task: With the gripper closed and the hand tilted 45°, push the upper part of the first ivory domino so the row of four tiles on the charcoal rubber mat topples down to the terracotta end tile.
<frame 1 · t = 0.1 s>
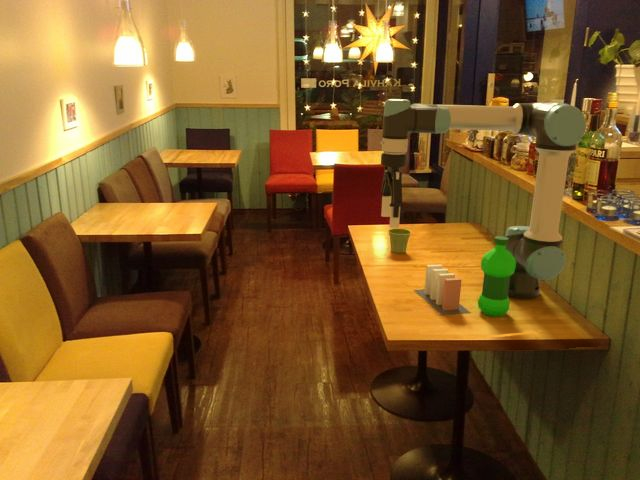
hand: (389, 221, 186), 28 cm above the table, tool pointing down, fingers open, 13 cm apart
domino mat: (440, 302, 199), on the table
plastic bottle: (492, 314, 190), on the table
domino 3: (443, 303, 196), point 1 cm above the table, touching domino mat
domino 1: (432, 293, 205), point 1 cm above the table, touching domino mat
plant pot: (398, 252, 252), on the table
domino 4: (450, 308, 192), point 1 cm above the table, touching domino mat
domino 2: (437, 298, 200), point 1 cm above the table, touching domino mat
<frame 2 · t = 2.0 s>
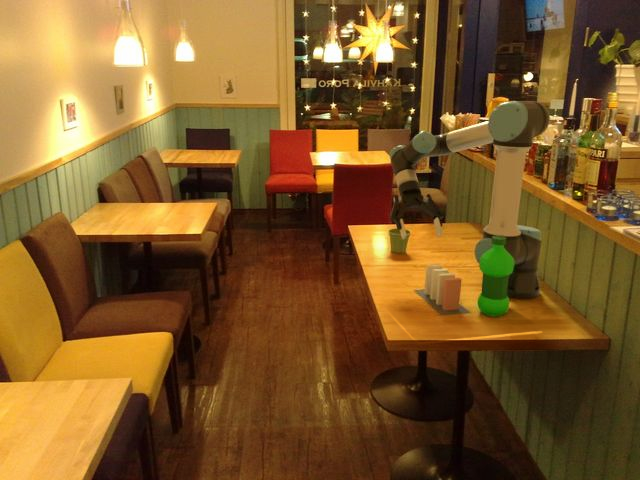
hand: (422, 236, 209), 18 cm above the table, tool tilted 45°, fingers open, 13 cm apart
plastic bottle: (492, 314, 190), on the table, touching arm
everything else where it was.
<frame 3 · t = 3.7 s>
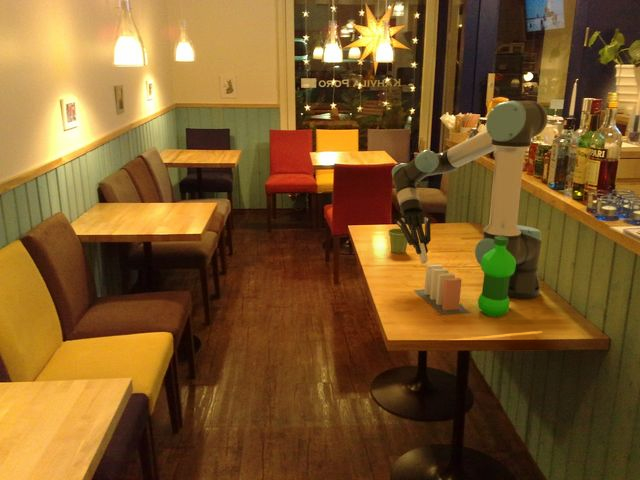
hand: (424, 261, 208), 10 cm above the table, tool tilted 45°, fingers closed
nothing on the table moved.
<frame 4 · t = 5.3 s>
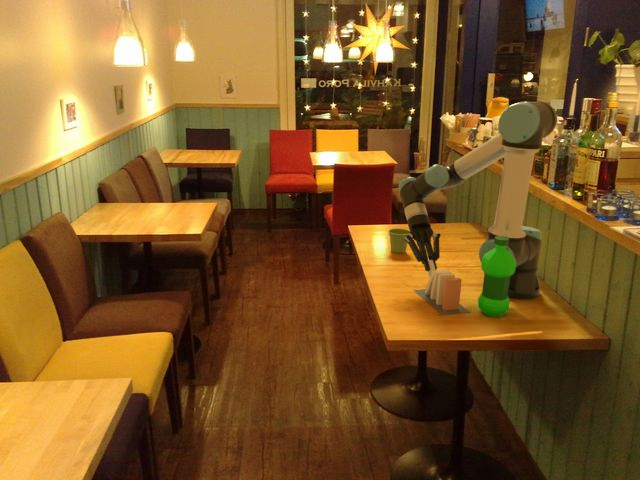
hand: (434, 279, 202), 6 cm above the table, tool tilted 45°, fingers closed
domino 1: (432, 292, 204), point 1 cm above the table, tilted 27°, touching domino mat
domino 2: (437, 298, 200), point 1 cm above the table, tilted 11°, touching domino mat
everything else where it was.
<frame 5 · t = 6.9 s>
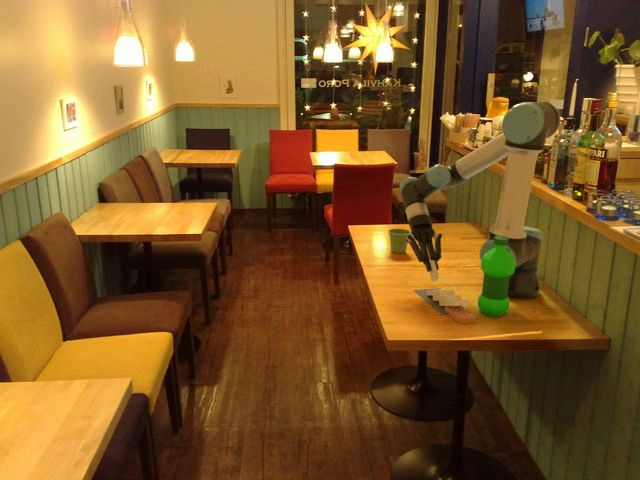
hand: (435, 279, 201), 6 cm above the table, tool tilted 45°, fingers closed
domino 3: (446, 302, 195), point 2 cm above the table, tilted 69°, touching domino 2, domino 4
domino 1: (433, 292, 203), point 1 cm above the table, tilted 69°, touching domino 2, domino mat
domino 4: (451, 307, 191), point 1 cm above the table, tilted 90°, touching domino 3, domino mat
domino 2: (439, 297, 199), point 1 cm above the table, tilted 69°, touching domino 1, domino 3, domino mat
everything else where it was.
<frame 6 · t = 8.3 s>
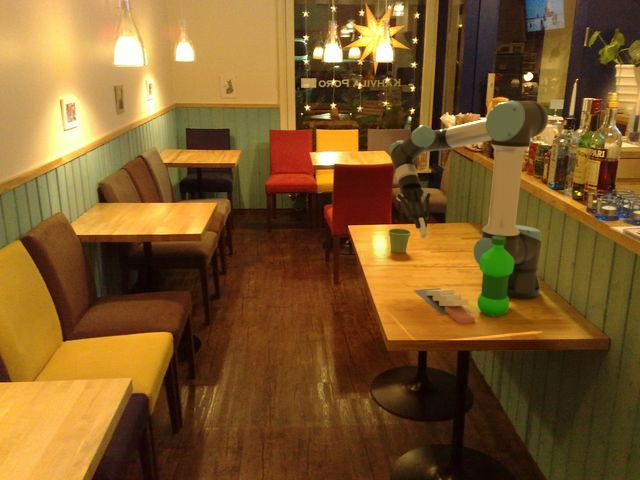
hand: (424, 235, 209), 18 cm above the table, tool tilted 45°, fingers closed
plastic bottle: (492, 314, 190), on the table
everything else where it was.
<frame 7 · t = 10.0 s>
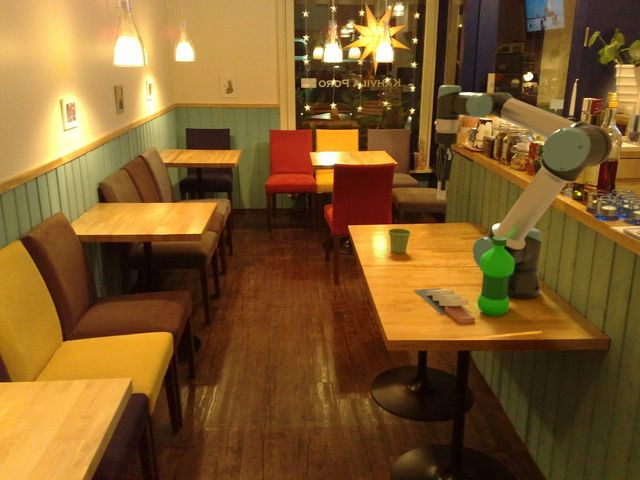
hand: (441, 198, 215), 29 cm above the table, tool pointing down, fingers closed
plastic bottle: (492, 314, 190), on the table, touching arm
everything else where it was.
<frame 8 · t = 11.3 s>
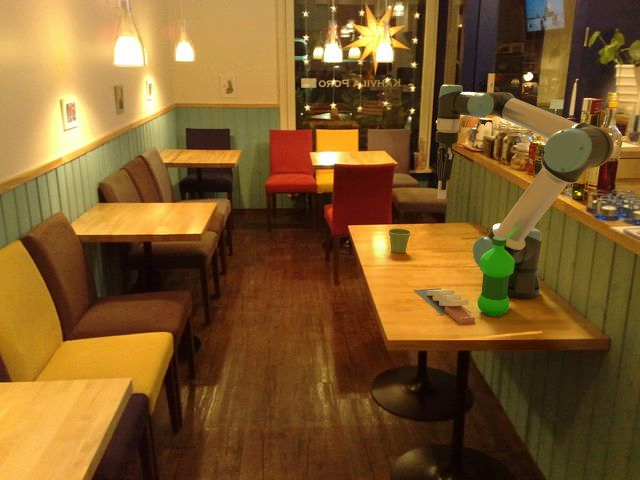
hand: (441, 198, 215), 29 cm above the table, tool pointing down, fingers closed
nothing on the table moved.
at the end: domino 1 tilted 69°; domino 4 tilted 90° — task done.
